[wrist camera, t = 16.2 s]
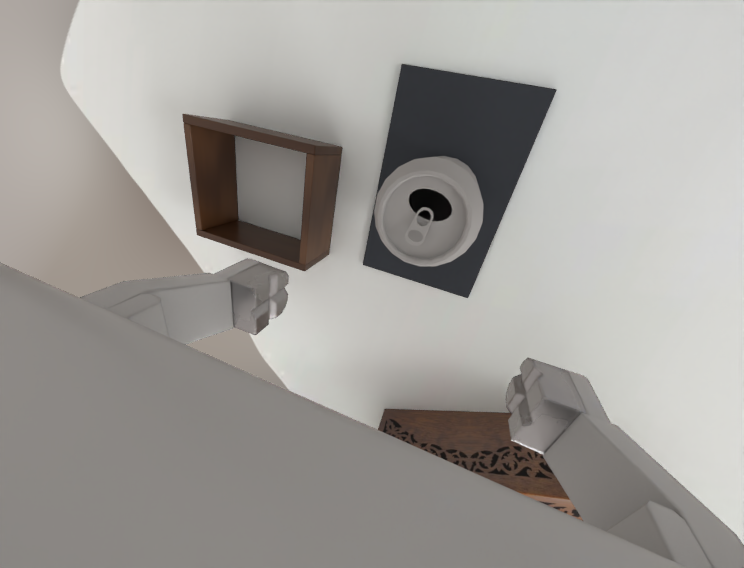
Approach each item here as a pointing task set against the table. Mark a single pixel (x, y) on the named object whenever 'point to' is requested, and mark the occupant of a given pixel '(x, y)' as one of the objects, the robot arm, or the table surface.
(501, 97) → the mat
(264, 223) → the table surface
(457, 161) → the can
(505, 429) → the tissue box cover
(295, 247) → the crate
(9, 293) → the robot arm
